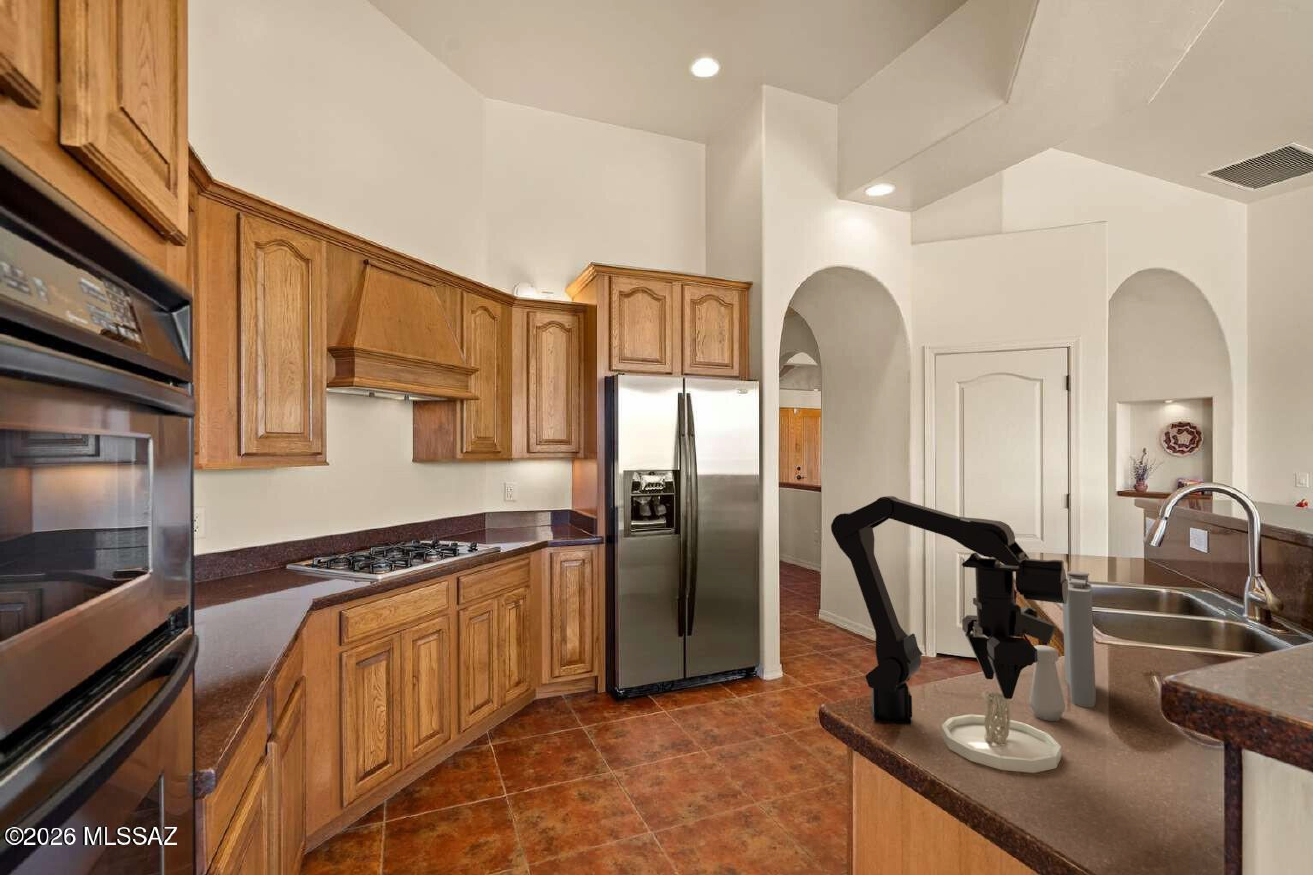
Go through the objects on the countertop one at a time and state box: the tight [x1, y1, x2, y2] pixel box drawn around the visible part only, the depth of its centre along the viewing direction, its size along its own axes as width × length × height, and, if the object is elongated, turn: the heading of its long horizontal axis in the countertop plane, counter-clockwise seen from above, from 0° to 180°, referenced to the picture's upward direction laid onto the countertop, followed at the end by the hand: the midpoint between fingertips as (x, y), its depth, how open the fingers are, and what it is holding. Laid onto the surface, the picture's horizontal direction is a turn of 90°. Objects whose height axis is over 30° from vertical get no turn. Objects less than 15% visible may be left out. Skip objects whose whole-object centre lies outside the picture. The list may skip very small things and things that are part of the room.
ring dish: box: [941, 713, 1062, 774], centre depth 103 cm, size 17×17×2 cm
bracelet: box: [982, 691, 1012, 744], centre depth 104 cm, size 4×8×8 cm, turn 149°
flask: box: [1062, 570, 1097, 708], centre depth 127 cm, size 17×5×25 cm, turn 150°
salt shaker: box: [1028, 644, 1066, 722], centre depth 115 cm, size 6×6×13 cm
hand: (998, 688), depth 103 cm, fingers open, 9 cm apart
